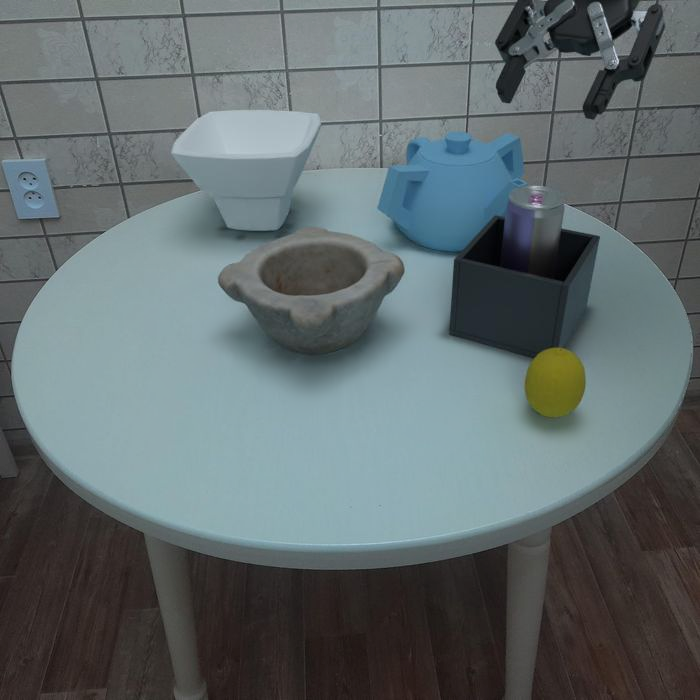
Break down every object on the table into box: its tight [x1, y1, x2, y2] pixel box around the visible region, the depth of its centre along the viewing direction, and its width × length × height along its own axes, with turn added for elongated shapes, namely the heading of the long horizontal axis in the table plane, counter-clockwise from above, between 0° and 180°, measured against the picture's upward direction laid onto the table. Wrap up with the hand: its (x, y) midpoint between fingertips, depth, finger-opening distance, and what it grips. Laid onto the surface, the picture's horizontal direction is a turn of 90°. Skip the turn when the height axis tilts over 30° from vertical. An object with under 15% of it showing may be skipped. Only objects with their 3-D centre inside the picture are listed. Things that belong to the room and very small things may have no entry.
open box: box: [448, 215, 601, 359], centre depth 82 cm, size 12×12×10 cm
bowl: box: [170, 109, 322, 232], centre depth 104 cm, size 19×19×14 cm
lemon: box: [524, 348, 587, 419], centre depth 69 cm, size 6×6×8 cm
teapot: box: [376, 131, 529, 253], centre depth 101 cm, size 19×19×14 cm
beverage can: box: [500, 184, 565, 279], centre depth 80 cm, size 6×6×15 cm
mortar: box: [217, 226, 406, 355], centre depth 81 cm, size 17×17×9 cm
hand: (544, 106), depth 66 cm, fingers open, 8 cm apart
